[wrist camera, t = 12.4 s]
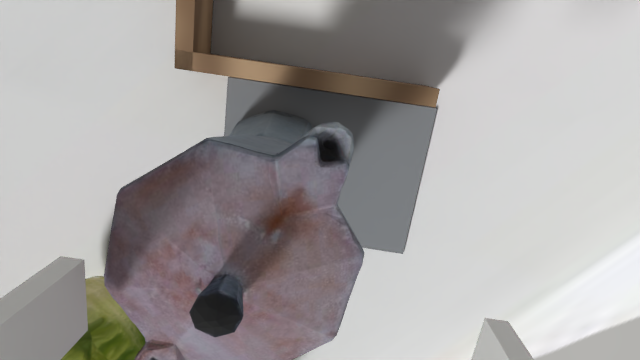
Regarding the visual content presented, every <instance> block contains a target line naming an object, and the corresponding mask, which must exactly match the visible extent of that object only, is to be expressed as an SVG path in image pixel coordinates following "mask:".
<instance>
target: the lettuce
mask: <svg viewBox="0 0 640 360" xmlns="http://www.w3.org/2000/svg"><path fill="white" fill-rule="evenodd" d="M85 284H86V302H87V321H88V331H87V332H86V333H85V334H84V335H83V336H82V337H81V338H80V339H79V340H78V341H77V343H76V344H75V345H74V346H73V347H72V348H71V349H70V350H69V351H68V352H67V353H66V354H65V355H64V357H63V358H62V359H61V360H134V359H135V357H136V355H137V353H138V352H139V351H140V350H141V348H142V347H143V346H144V345H145V343H146V342H145V337H144V336H143V335H142V333H141V332H140V331H139V329H138V328H137V327H136V325H135V324H134V323H133V322H132V321H131V320H130V319H129V317H128V316H127V315H126V313H125V312H124V311H123V309H122V308H121V307H120V306H119V304H118V303H117V302H116V301H115V300H114V299H113V298H112V297H111V295H110V293H109V292H108V290H107V289H106V287H105V285H104V277H103V276H94V277H90V278H87V279H85Z"/></svg>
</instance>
